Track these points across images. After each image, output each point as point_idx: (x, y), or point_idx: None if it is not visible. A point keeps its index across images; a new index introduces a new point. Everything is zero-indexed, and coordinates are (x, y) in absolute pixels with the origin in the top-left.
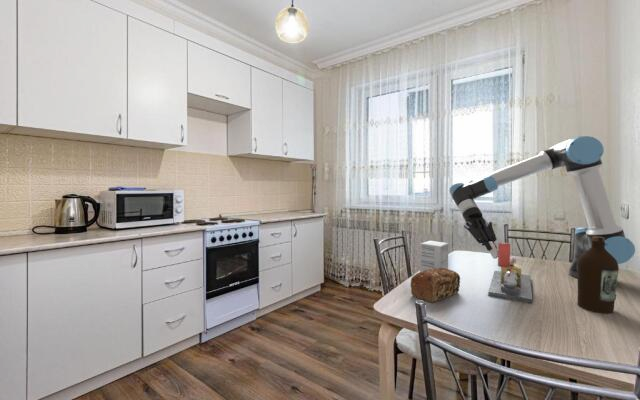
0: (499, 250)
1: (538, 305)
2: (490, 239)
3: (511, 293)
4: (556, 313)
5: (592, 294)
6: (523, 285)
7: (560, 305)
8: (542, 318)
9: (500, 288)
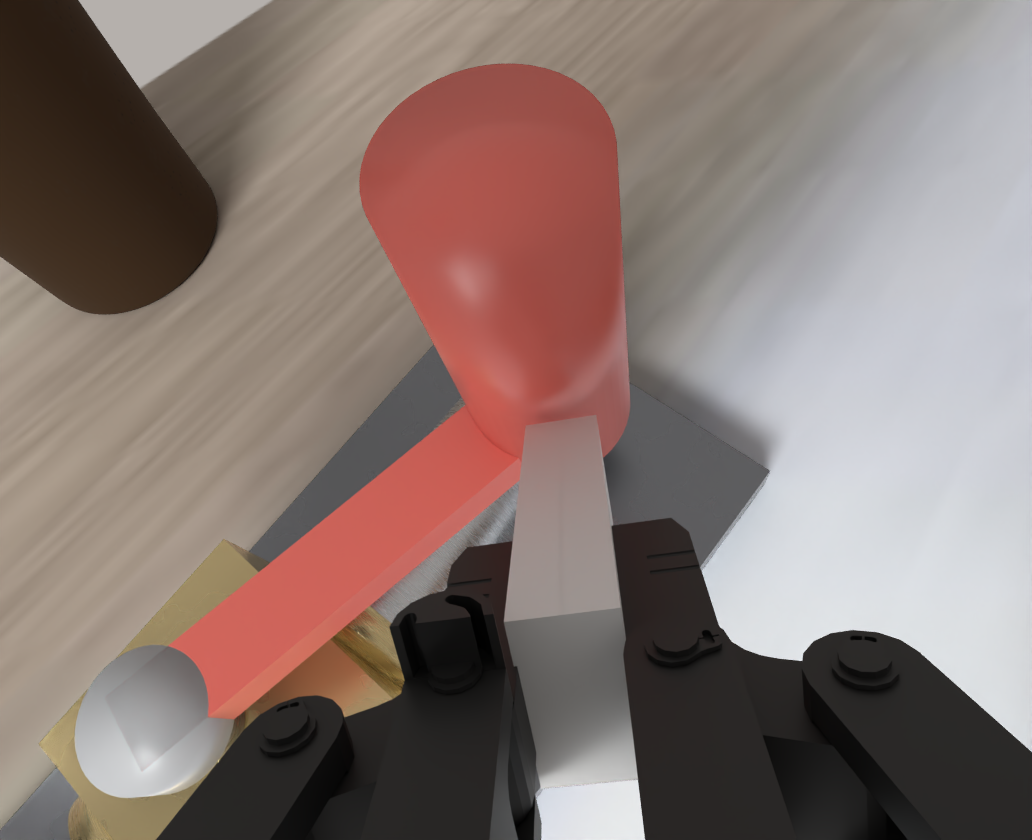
0: (621, 253)
1: None
2: (504, 699)
3: None
4: None
5: (149, 103)
6: None
7: (314, 272)
8: (620, 94)
9: None
